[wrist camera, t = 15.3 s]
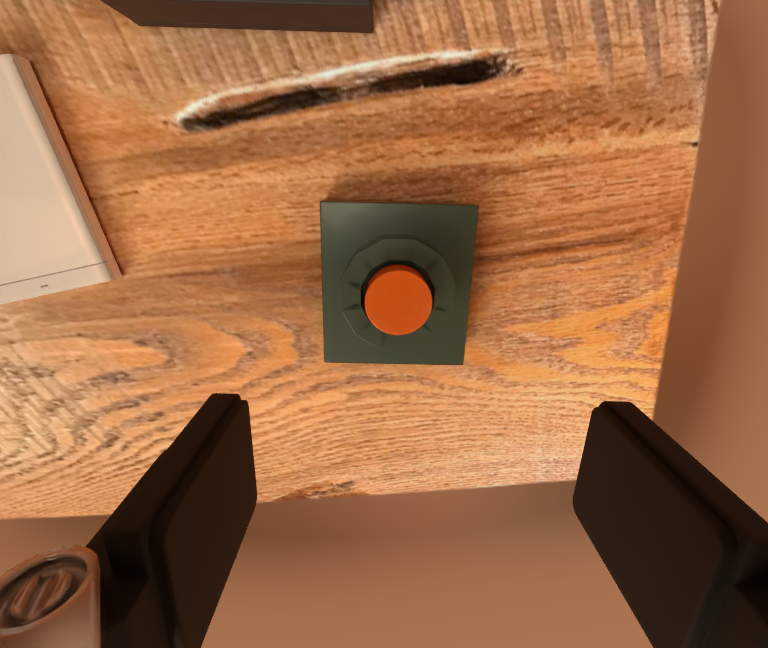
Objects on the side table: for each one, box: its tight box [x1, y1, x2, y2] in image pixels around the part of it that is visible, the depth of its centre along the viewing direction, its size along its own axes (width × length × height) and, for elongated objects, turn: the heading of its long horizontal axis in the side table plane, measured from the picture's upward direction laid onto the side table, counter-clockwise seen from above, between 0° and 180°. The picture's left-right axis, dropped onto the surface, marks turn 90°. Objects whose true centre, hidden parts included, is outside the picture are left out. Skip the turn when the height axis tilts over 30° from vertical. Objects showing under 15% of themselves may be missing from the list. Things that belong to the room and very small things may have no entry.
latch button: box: [365, 264, 432, 335], centre depth 22 cm, size 4×4×2 cm
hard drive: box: [0, 53, 122, 305], centre depth 24 cm, size 2×8×12 cm
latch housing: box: [320, 199, 479, 365], centre depth 25 cm, size 10×9×4 cm
